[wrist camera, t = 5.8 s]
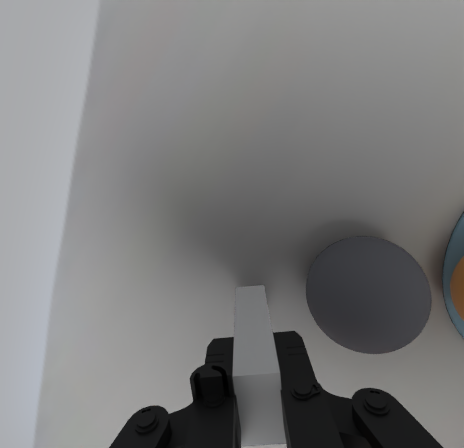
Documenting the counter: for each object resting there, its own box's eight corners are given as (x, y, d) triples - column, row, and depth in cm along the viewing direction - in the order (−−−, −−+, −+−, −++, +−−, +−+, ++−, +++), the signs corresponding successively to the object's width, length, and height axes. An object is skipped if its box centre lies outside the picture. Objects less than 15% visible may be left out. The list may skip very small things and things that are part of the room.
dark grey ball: (289, 355, 15) (332, 311, 19) (420, 400, 11) (438, 334, 15) (281, 246, 14) (328, 225, 18) (420, 258, 10) (439, 228, 15)
